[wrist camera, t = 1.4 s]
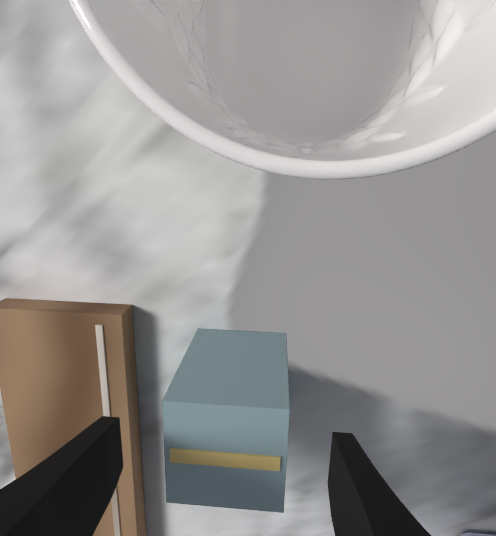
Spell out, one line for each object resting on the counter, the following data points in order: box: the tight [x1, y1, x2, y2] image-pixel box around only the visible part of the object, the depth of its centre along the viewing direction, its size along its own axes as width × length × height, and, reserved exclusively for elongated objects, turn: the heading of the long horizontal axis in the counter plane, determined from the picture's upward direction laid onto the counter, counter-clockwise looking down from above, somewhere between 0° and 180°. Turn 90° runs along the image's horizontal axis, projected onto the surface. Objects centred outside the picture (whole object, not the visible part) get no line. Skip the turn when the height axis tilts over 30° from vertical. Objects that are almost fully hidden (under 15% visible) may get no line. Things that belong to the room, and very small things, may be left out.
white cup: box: [69, 0, 496, 179], centre depth 9 cm, size 8×8×10 cm
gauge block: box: [162, 328, 290, 513], centre depth 15 cm, size 4×4×6 cm
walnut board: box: [0, 298, 147, 536], centre depth 19 cm, size 6×18×1 cm, turn 179°
